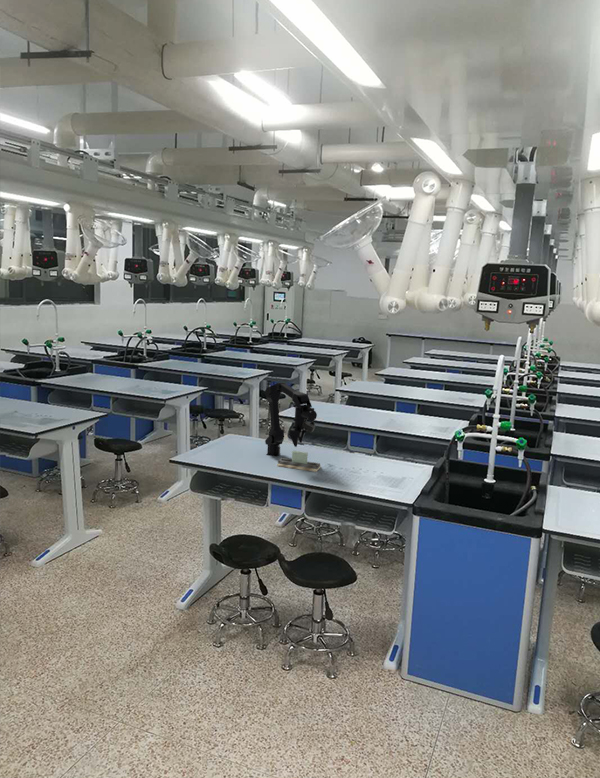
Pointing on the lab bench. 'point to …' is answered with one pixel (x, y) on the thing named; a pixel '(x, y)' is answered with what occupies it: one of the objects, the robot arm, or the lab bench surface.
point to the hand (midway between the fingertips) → (298, 444)
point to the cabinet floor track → (299, 465)
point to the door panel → (299, 457)
